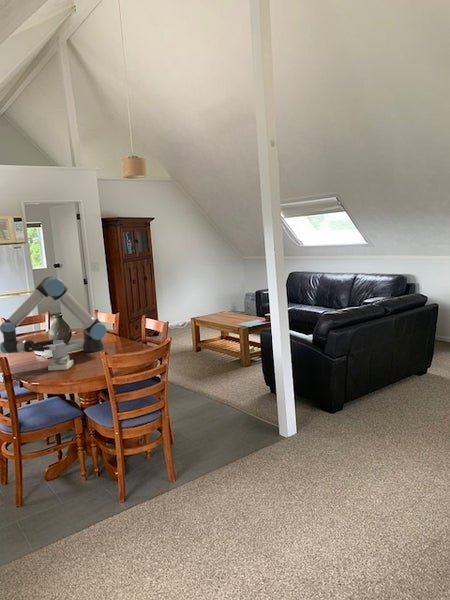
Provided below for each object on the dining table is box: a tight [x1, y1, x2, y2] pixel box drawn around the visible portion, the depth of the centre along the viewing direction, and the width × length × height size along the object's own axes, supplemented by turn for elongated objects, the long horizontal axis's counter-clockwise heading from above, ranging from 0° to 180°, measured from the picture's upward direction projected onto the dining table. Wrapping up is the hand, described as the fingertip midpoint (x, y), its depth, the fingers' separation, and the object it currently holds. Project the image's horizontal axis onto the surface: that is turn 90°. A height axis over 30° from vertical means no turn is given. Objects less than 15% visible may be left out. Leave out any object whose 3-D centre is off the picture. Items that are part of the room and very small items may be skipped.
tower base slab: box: [47, 359, 74, 371], centre depth 291 cm, size 12×12×4 cm
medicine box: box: [51, 342, 68, 359], centre depth 290 cm, size 8×4×9 cm, turn 139°
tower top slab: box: [49, 354, 71, 366], centre depth 290 cm, size 10×10×4 cm
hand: (59, 344), depth 288 cm, fingers open, 13 cm apart
